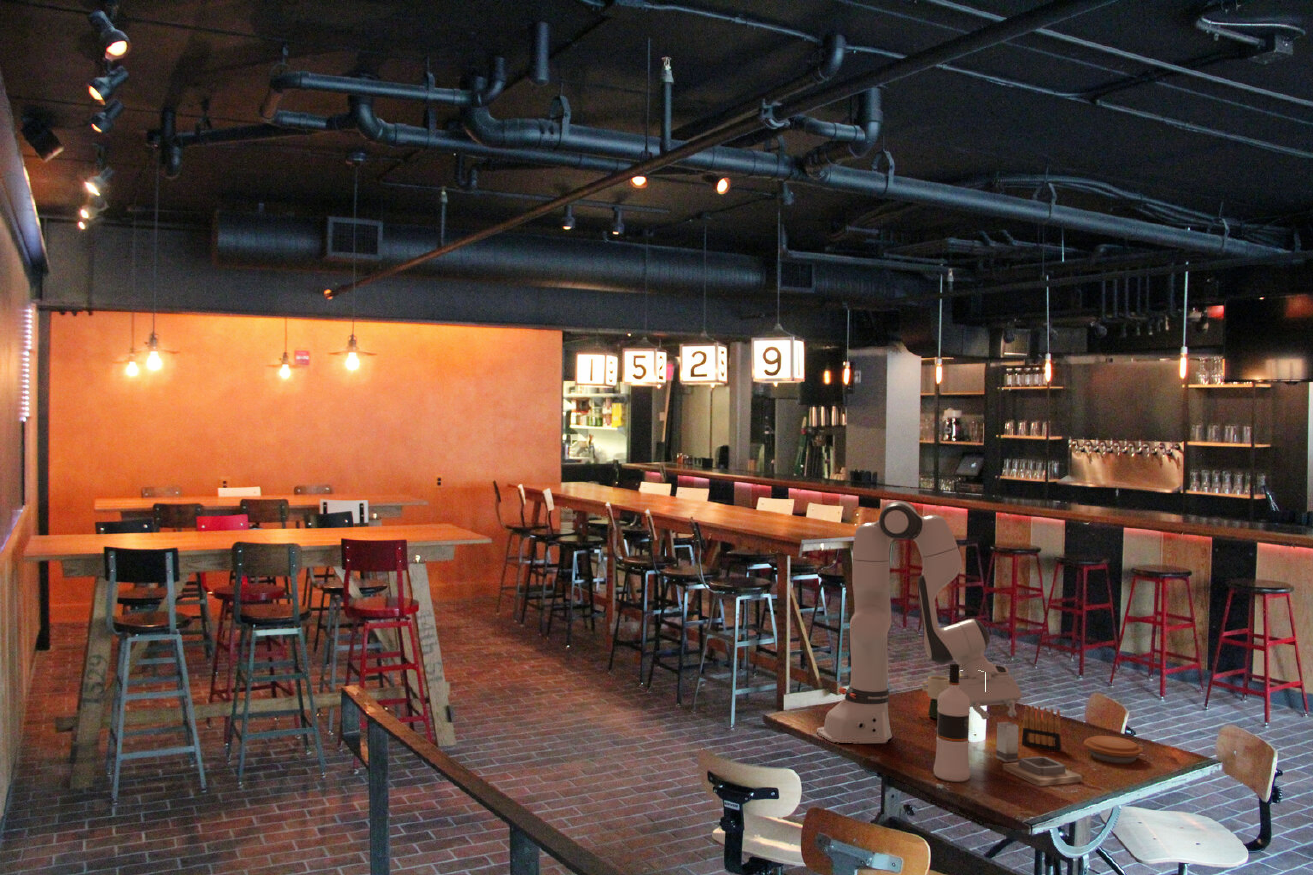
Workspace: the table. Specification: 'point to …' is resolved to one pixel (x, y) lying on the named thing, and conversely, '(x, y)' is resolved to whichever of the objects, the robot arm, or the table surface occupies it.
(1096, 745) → the pie
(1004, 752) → the grey rectangular block
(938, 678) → the character mug
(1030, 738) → the ammunition clip
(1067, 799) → the table surface
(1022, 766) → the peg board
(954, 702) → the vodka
